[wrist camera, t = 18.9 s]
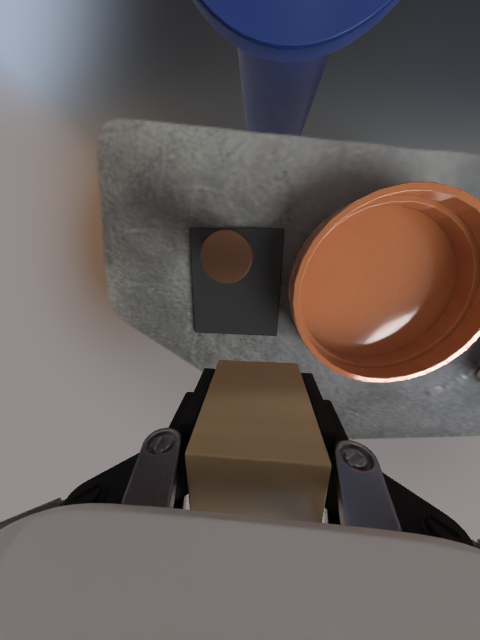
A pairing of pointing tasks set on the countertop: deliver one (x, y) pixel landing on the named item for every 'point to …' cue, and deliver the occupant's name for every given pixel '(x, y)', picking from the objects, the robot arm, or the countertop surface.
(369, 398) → the countertop surface
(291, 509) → the birch block
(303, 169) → the countertop surface
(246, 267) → the walnut cylinder
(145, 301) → the countertop surface
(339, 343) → the pan
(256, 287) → the mat
